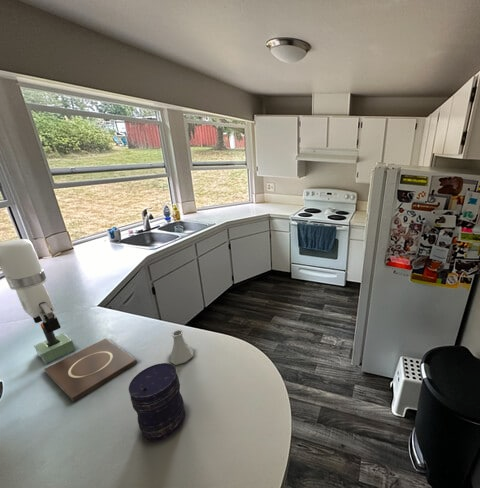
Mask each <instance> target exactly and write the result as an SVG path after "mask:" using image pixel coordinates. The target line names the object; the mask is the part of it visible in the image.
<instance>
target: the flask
mask: <svg viewBox="0 0 480 488" xmlns="http://www.w3.org/2000/svg"><path fill="white" fill-rule="evenodd" d="M183 332H184V331H183V330H181V329H176V330H175V331H173V332H172V333H171V337H173V345H172V350H171V352H170V359H169V362H170V363H171V364H172V365H174V366H177V365H180V364H184V363H187V362H188V361H189V360H190V359H191V358H193V357H194V350H193V348H191V346H190V345H189V344H188V342H187V341H186V340H185V338H184V336H183Z"/></svg>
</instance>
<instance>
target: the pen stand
mask: <svg viewBox="0 0 480 488" xmlns="http://www.w3.org/2000/svg"><path fill="white" fill-rule="evenodd" d="M55 337H56V339H57V342H58V343H57V344H55V345H53V346H51V347H50V346H49V344H48V341H47V339H46V340H44V341H41V342H39V343H37V344H35V345H33V348H34V349H35V352H36V354H37V356H38V357H39V358H40V359H41V360H42V361H43V362H44V363H45V364H46V365H47V364H48V363H51V362H53V361H55V360H57V359H59V358H61V357H64V356H65V355H67V354H69V353H72V352H73V351H76V347H75V345H74V342H73V340H72V339H71V338H69V337H68V336H67V335H66V334H65V333H60V334H58V335H55Z"/></svg>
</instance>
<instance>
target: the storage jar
mask: <svg viewBox="0 0 480 488" xmlns="http://www.w3.org/2000/svg"><path fill="white" fill-rule="evenodd" d="M128 393H129V397H130V402H131V405H132V408H133V410H134V411H135V412H136V413H137V414H136V415H137V423H138V427H139V431H140V432H141V435H142V438H143V439H144V441H147V442H149V443H158V442H162V441H164V440H166V439H168V438H170V437H171V436H173V435H174V434H175V433H177V432H178V430H180V428H181V427H182V426H183V424H184V422H185V421H186V415H187V414H186V409H185V401H184V398H183V395H182V393H181V382H180V379H179V375H178V371H177V368H176V365H175V364H173V363H168V362H162V363H157V364H153V365H150V366H148V367H146V368H144V369H143V370H141V371H140V372H138V373H137V374H136V375H135V376H134V377H133V378H132V379H131V381H130V383H129V385H128Z"/></svg>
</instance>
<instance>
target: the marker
mask: <svg viewBox="0 0 480 488" xmlns="http://www.w3.org/2000/svg"><path fill="white" fill-rule="evenodd" d="M40 328H41V330H42V332H43V334H44V336H45V339H46V340H47V341H48V344H49V346H50V347H51V346H53V345H55V344H57V343H58V342H57V339H56V334H55V331H52V332H50V333H47V332H46V330H45V328H44V326H43V324H42V323H40Z"/></svg>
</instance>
